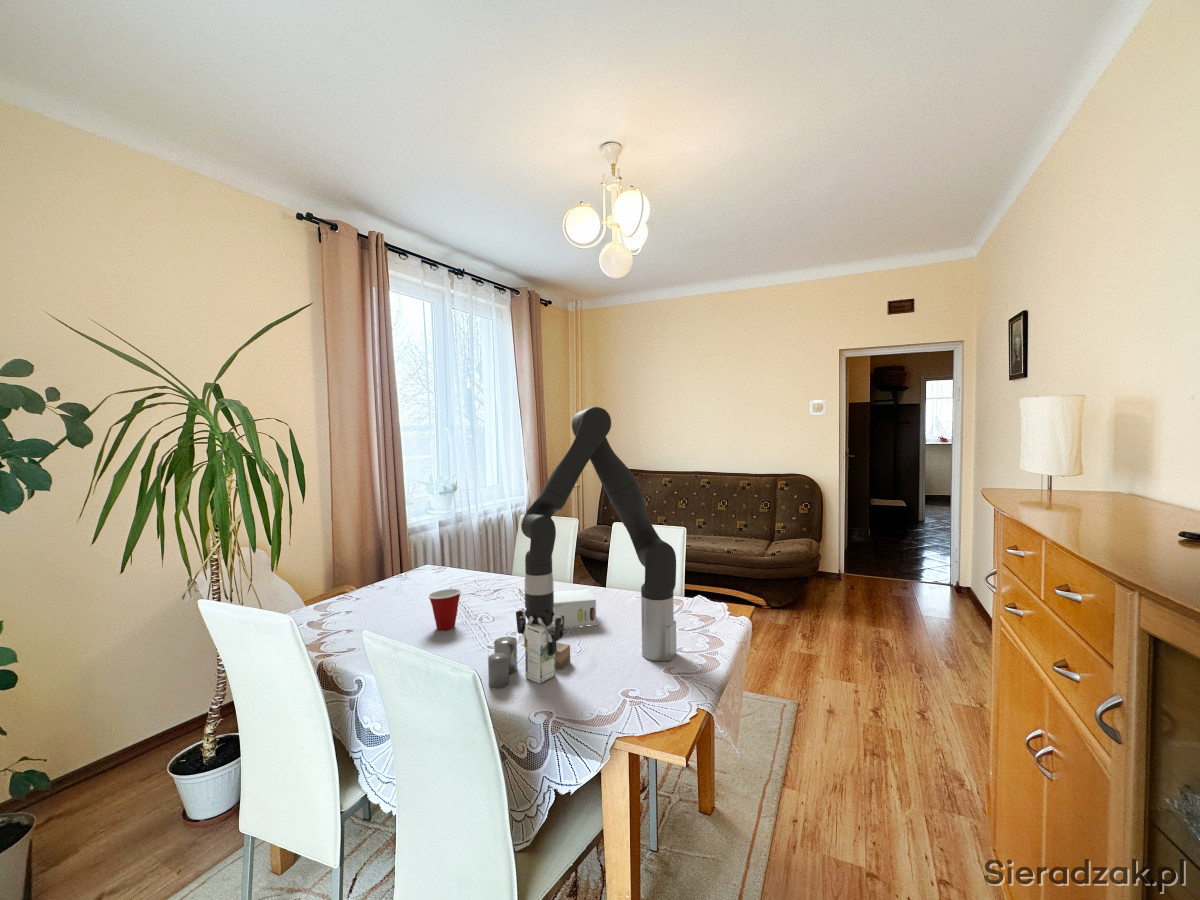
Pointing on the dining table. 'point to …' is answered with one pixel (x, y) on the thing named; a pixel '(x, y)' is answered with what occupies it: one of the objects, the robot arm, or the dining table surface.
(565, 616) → the supplement box
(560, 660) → the walnut block
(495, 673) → the charcoal plastic canister
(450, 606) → the plastic cup
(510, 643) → the dark metal tin
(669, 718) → the dining table surface
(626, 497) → the robot arm
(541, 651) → the syrup box
